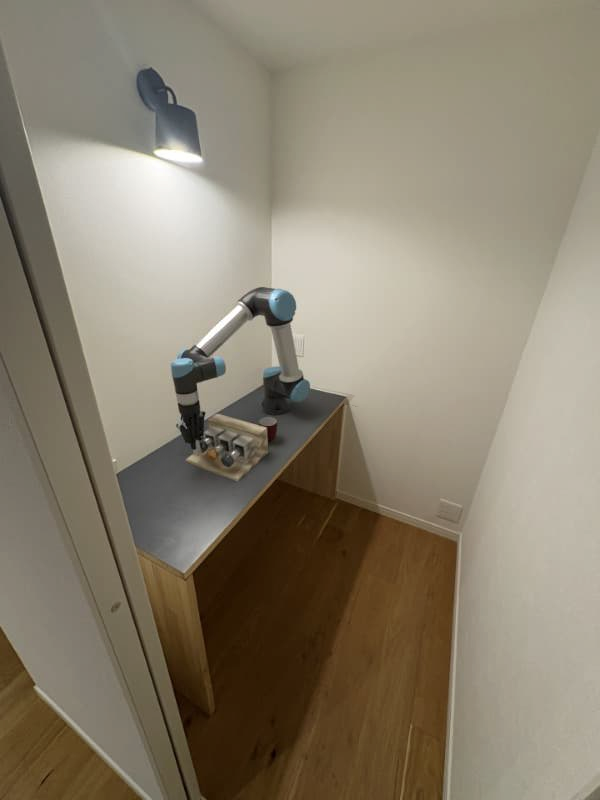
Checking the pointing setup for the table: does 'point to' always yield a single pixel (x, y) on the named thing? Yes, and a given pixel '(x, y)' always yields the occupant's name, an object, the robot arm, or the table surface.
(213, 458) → the knob middle
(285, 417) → the table surface
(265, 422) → the mug
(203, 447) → the knob
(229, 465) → the knob
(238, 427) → the mount
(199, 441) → the robot arm
